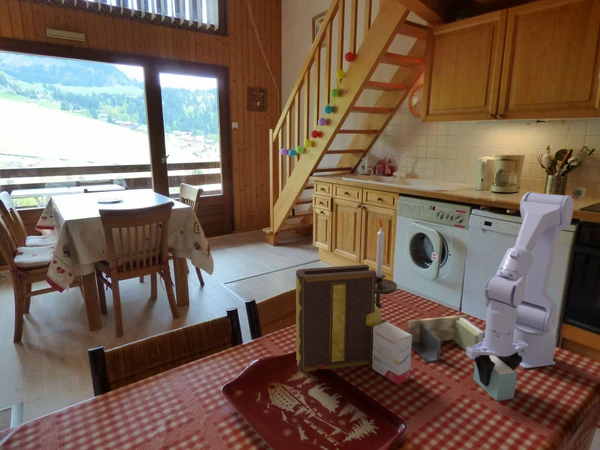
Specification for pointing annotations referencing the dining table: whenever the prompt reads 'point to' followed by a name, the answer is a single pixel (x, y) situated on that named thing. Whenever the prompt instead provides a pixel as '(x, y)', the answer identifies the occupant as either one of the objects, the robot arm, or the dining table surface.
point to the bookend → (427, 345)
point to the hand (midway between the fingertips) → (493, 382)
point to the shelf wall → (434, 327)
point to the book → (335, 316)
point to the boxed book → (499, 380)
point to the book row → (467, 333)
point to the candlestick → (381, 284)
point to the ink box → (392, 352)
